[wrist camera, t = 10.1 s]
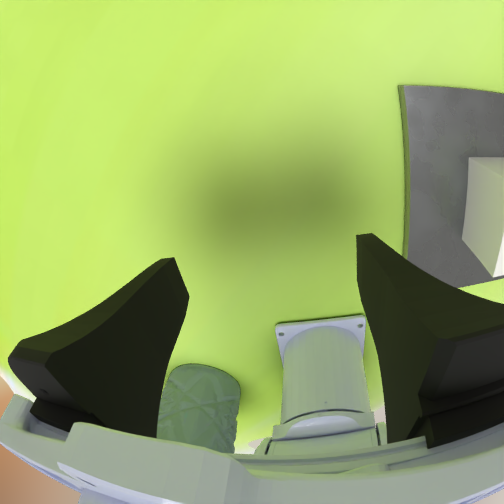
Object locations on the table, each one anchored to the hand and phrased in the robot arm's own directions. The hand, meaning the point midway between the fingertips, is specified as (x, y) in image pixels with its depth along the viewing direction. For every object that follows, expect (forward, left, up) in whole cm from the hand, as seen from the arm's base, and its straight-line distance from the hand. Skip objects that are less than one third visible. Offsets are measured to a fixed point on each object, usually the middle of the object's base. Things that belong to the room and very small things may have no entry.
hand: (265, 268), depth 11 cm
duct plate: (-2, -16, -9) cm, 19 cm away
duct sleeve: (-2, -16, -8) cm, 18 cm away
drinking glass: (-22, +12, -10) cm, 27 cm away
